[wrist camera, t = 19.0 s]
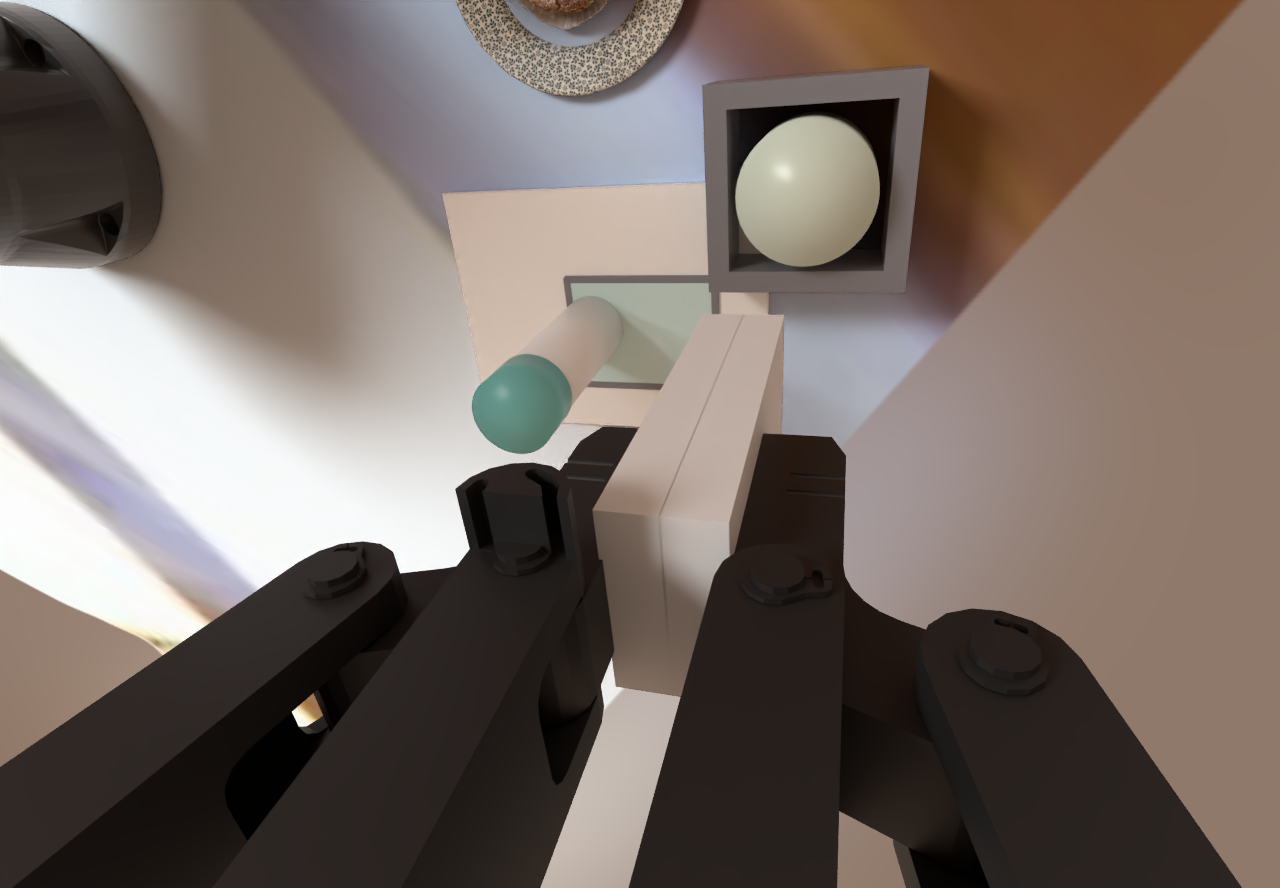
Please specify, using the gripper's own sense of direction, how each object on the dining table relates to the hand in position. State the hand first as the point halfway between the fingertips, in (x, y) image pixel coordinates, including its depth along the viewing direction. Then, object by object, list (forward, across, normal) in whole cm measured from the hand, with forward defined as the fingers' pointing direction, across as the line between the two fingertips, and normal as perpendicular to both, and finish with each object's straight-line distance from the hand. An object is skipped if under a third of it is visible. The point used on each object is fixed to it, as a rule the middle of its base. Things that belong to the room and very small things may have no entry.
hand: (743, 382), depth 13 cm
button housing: (+24, 0, 0) cm, 24 cm away
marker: (+24, -12, -8) cm, 28 cm away
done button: (+23, 0, 0) cm, 23 cm away
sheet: (+24, -11, -7) cm, 28 cm away
